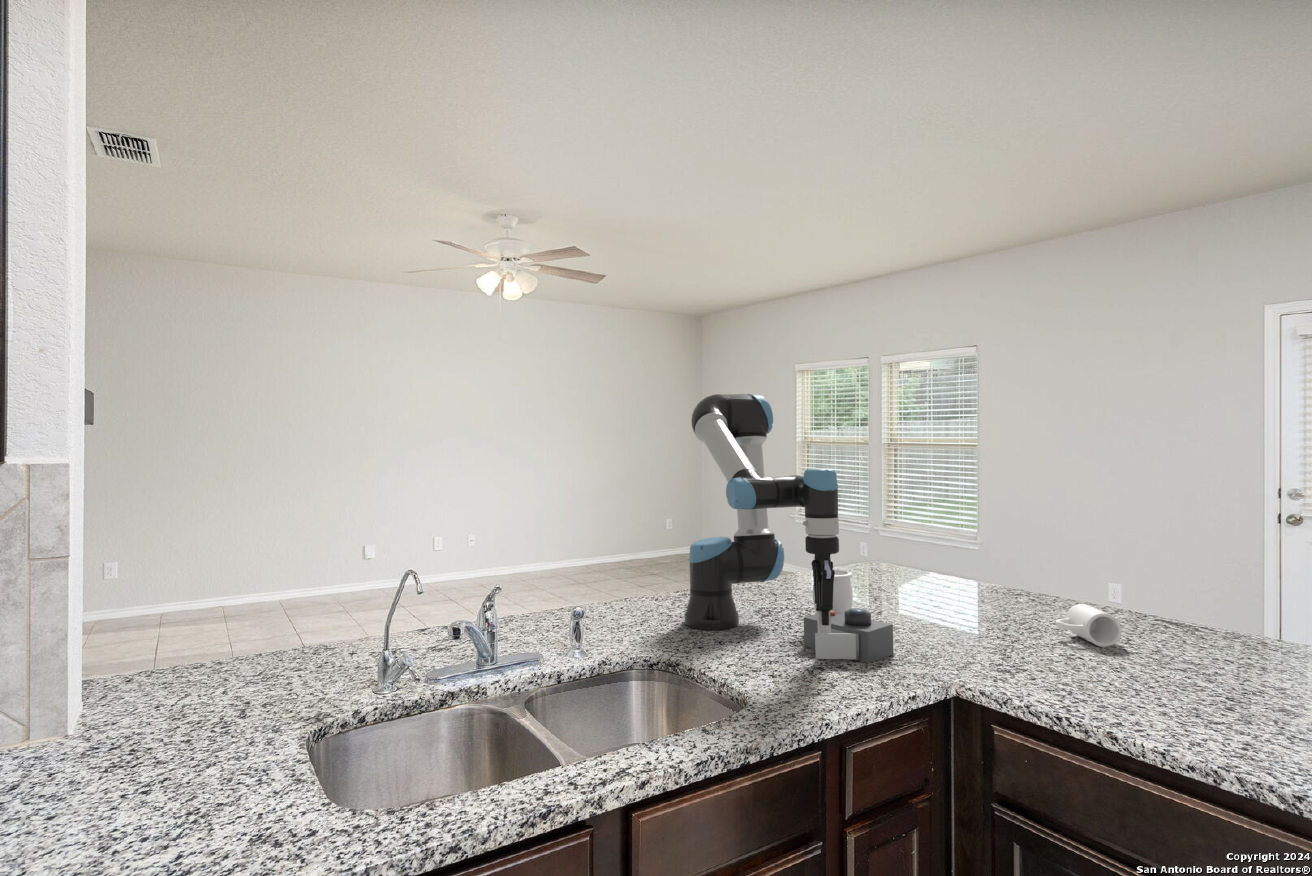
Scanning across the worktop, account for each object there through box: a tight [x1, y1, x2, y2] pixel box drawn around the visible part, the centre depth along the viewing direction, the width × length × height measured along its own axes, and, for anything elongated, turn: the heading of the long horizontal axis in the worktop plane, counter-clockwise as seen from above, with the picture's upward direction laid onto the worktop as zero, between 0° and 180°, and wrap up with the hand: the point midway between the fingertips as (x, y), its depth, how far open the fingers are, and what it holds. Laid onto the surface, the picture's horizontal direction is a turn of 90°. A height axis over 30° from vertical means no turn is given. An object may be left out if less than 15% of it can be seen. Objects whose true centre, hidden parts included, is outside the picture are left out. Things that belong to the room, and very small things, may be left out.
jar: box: [811, 568, 854, 614], centre depth 179 cm, size 11×10×15 cm
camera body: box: [803, 607, 894, 664], centre depth 160 cm, size 18×10×10 cm, turn 39°
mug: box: [1055, 603, 1123, 648], centre depth 164 cm, size 12×10×8 cm
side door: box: [814, 633, 859, 660], centre depth 152 cm, size 10×1×6 cm, turn 84°
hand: (824, 638), depth 154 cm, fingers closed
